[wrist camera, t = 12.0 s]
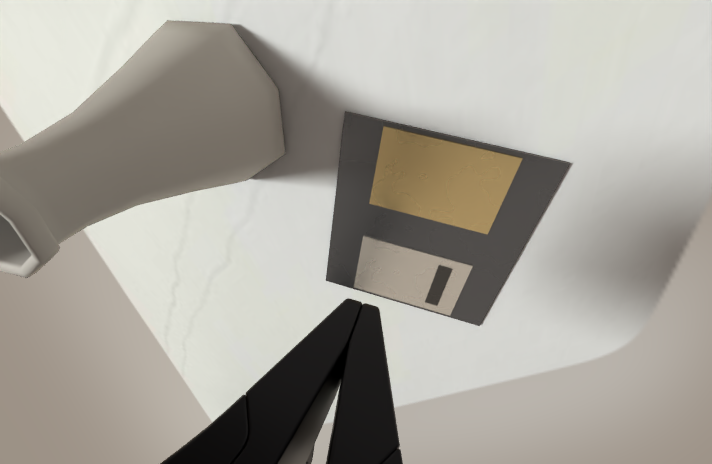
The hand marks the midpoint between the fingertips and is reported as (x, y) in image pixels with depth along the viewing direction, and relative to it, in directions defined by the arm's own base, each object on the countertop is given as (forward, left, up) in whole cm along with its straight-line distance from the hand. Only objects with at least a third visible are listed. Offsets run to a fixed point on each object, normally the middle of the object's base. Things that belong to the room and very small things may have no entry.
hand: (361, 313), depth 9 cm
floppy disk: (-3, -1, -8) cm, 9 cm away
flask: (+1, +9, -9) cm, 13 cm away
